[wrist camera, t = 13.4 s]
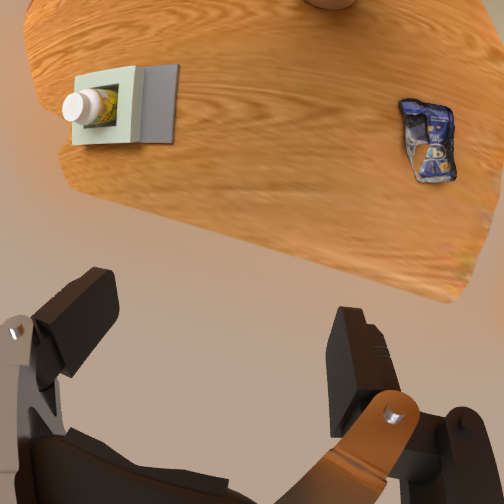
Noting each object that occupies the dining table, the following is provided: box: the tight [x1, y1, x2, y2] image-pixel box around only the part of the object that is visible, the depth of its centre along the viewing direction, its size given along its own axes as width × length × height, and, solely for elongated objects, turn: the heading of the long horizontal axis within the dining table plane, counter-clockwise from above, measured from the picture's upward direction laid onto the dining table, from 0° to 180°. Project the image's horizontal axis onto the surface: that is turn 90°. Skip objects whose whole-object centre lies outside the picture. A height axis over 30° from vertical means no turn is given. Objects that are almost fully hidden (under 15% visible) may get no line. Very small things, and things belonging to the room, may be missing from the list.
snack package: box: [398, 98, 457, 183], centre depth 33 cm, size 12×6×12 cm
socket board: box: [72, 64, 180, 145], centre depth 36 cm, size 12×17×4 cm
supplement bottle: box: [63, 88, 118, 125], centre depth 33 cm, size 5×5×10 cm
